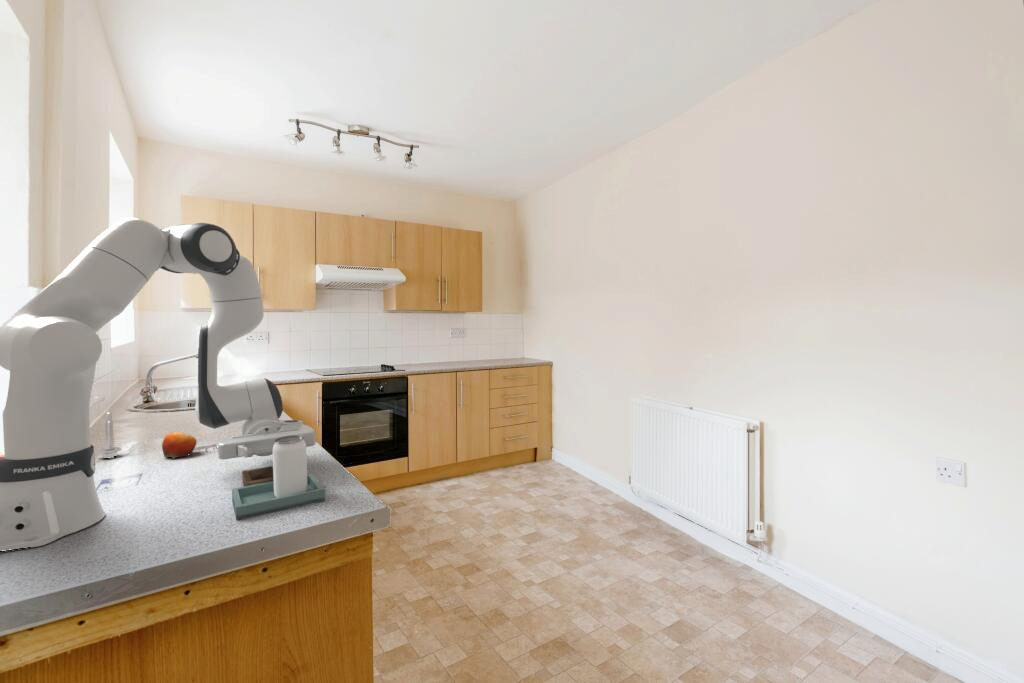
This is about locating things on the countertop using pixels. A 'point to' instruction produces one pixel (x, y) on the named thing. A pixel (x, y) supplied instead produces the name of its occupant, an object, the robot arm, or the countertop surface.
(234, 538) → the countertop surface
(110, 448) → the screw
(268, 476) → the collar
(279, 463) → the can
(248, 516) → the tray
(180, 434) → the fruit
